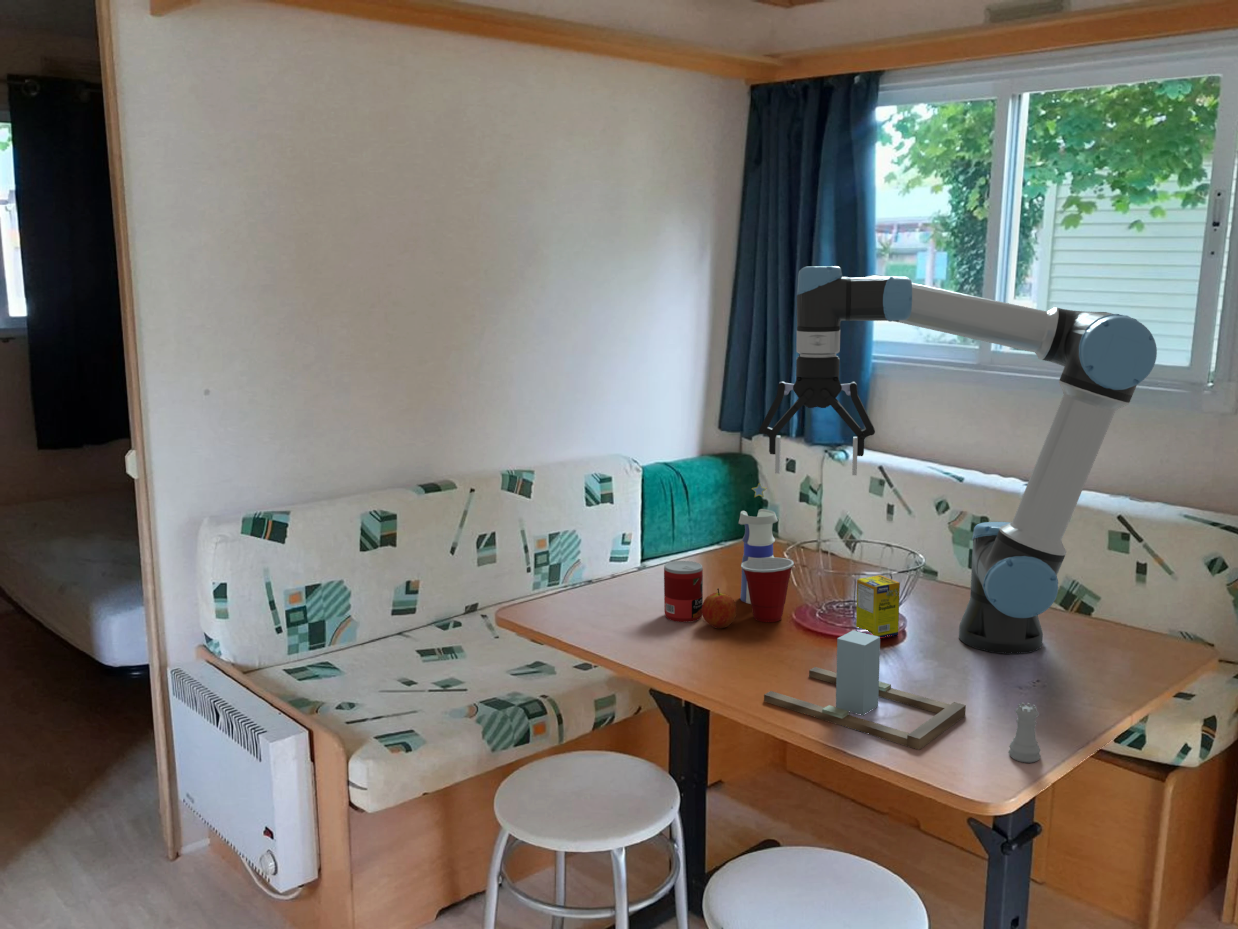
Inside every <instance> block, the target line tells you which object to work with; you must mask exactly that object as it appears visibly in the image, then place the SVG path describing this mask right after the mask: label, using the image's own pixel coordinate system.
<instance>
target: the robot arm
mask: <svg viewBox="0 0 1238 929" xmlns="http://www.w3.org/2000/svg"><path fill="white" fill-rule="evenodd" d="M797 275H798V276H797V288H796V290H797V291H796V326H797V327H796V353H798V354H799V355H798V356H797V357H796V358H795V360H796V361H795V362H796V363H795V364H796V365H795V366H796V367H795V382H794V383H789V382H785V381H783V380H781V381H779V383H778V385H777V393H776V396H775V398H774V400H773V402H772V404H771V406H770V408H769V410H768V412H767V414H766V415H765V418H764V419H763V422H762V423H761V424H760V426H759V429H758V431H759V433H760V434H763V435H766V436H767V437H768V438H769V439H768V441H769V443H768V448H769V449H768V452H769V454H770V455H775V458H774V459H775V461H774V462H775V464H774V466H775V468H774V471H775V472H774V473H775V474H776V475H777V474H780V472H781V454H782V452H781V449H782V448H781V446H782V445H781V444H782V440H781V439H782V437H781V435H778V434H779V432H780V431H781V430H782V429H783V428H784V427H785V426H786V424H788V422H789V421H790V420H791V419H792V418H793V417H794V415H796V414H797V412H798V411H799V410H800V409H801V408H802V407H803V406H804V407H806V408H807V409H814V408H820V409H826V408H828V407H830V406H831V408H832V409H833V410H834V411H835V412H836V413H837V414H838V415H839V417H840V418H841V419H842V420H843V421H844V423H845V424H846V425H847V426H848V428H849V429H850V430H851V431H852V432H853V433H854V435H855V436H853V438H852V472H851V474H852V476H857V475H858V469H857V468H858V457H863V456H864V454H865V440H866V438H867V437H869V436H874V435H875V433H876V429H875V427H874V425H873V423H872V421H871V419H870V417H869V414H868V413H867V410H866V408H865V406H864V404H863V402H862V400H861V398H860V396H859V394H858V384H857V383H856V381H851V382H850V383H848V382H847V383H841V381H840V363H841V362H840V361H841V360H840V357H839V356H838V355H837V354H839V353H840V352H841V351H840V349H841V322H842V321H846V322H851V321H859V322H860V321H862V322H863V321H866V322H871V321H872V322H876V321H877V322H878V321H879V322H880V321H881V322H882V321H884V322H885V321H886V322H895V323H900V324H904V325H908V326H913V327H918V328H923V329H926V330H932V331H937V332H940V333H945V334H950V335H955V336H957V337H958V336H959V337H963V338H967V339H972V340H976V341H980V342H981V341H982V342H984V343H990V344H995V345H999V346H1004V347H1008V348H1013V349H1017V350H1022V351H1027V352H1031V353H1034V354H1036V356H1037V358H1038V359H1039V360H1041V361H1045V362H1049V363H1053V364H1056V365H1059V366H1062V367H1064V368H1063V369H1062V372H1061V375H1060V377H1059V380H1058V383H1059V385H1060V387H1061V389H1062V392H1063V396H1062V398H1061V401H1060V403H1059V405H1058V408H1057V410H1056V413H1055V415H1054V418H1053V420H1052V422H1051V425H1050V427H1049V430H1048V433H1047V434H1046V437H1045V440H1044V443H1043V445H1042V447H1041V450H1040V452H1039V455H1038V457H1037V459H1036V463H1035V465H1034V467H1033V470H1032V472H1031V475H1030V477H1029V480H1028V481H1027V485H1026V487H1025V490H1024V492H1023V494H1022V497H1021V499H1020V502H1019V504H1018V507H1017V509H1016V512H1015V514H1014V516H1013V520H1012V521H1011V522H1010V521H1009V522H1008V521H1006V522H1005V521H989V522H988V521H986V522H980V523H978V524H976V525H975V526H974V528H973V533H972V537H971V541H972V554H971V574H970V576H971V577H970V595H969V600H968V602H967V603H968V604H967V606H966V608H965V611H964V613H963V615H962V618H961V620H960V623H959V628H958V638H959V640H960V641H961V642H962V643H963V644H966V645H967V646H969V647H970V648H971V647H972V648H974V649H978V650H981V651H985V652H991V653H995V654H996V653H997V654H1009V655H1010V654H1011V655H1013V654H1017V655H1019V654H1027V653H1031V652H1035V651H1037V650H1039V649H1041V647H1042V646H1043V638H1044V637H1043V635H1044V634H1043V630H1042V626H1041V622H1040V619H1039V615H1041V614H1043V613H1044V612H1046V611H1047V610H1049V608H1051V607H1052V606H1053V605H1054V603H1055V600H1057V597H1058V593H1059V578H1058V574H1059V571H1060V569H1061V566H1062V564H1063V562H1064V559H1065V557H1066V555H1067V550H1066V548H1065V546H1064V543H1063V541H1062V540H1063V538H1064V535H1065V532H1066V529H1067V528H1068V525H1069V522H1071V518H1072V515H1073V513H1074V512H1075V509H1076V506H1077V504H1078V501H1079V498H1080V497H1081V494H1082V492H1083V490H1084V487H1085V485H1086V482H1087V480H1088V477H1089V475H1090V473H1091V470H1092V468H1093V466H1094V463H1095V461H1096V458H1097V456H1098V454H1099V451H1100V449H1101V446H1102V444H1103V441H1104V439H1105V437H1106V434H1107V432H1108V430H1109V427H1110V426H1111V422H1112V420H1113V418H1114V416H1115V413H1116V411H1118V410H1119V409H1122V408H1124V407H1125V406H1129V404H1130V402H1131V400H1132V398H1133V395H1134V393H1135V390H1136V388H1137V386H1138V385H1139V384H1140V383H1142V382H1144V380H1145V379H1146V378H1147V377H1148V376H1149V375H1150V374H1151V372H1152V370H1153V368H1154V366H1155V364H1156V361H1157V356H1158V352H1157V351H1158V349H1157V344H1156V340H1155V338H1154V336H1153V334H1152V332H1151V331H1150V330H1149V328H1148V327H1147V326H1146V325H1144V324H1143V323H1142V322H1140V321H1139V320H1137V319H1136V318H1134V317H1131V316H1129V315H1125V314H1124V315H1123V314H1119V313H1112V312H1107V311H1085V310H1084V311H1082V310H1081V311H1080V310H1072V309H1065V308H1060V307H1056V306H1055V307H1052V308H1051V309H1049V310H1042V309H1037V308H1033V307H1028V306H1024V305H1019V304H1015V303H1014V304H1013V303H1011V302H1010V303H1009V302H1005V301H1000V300H995V299H990V298H986V297H981V296H976V295H971V294H966V293H961V292H958V291H957V292H956V291H952V290H949V289H948V290H947V289H944V288H938V287H933V286H929V285H924V284H919V283H914V282H913V281H912V280H911V278H909V277H908V276H896V275H890V276H885V275H884V276H883V275H880V274H869V275H867V276H865V277H864V276H863V277H862V276H861V277H851V276H850V277H848V276H843V272H842V268H841V267H840V266H838V265H834V266H833V265H831V266H828V265H827V266H826V265H825V266H824V265H822V266H819V265H818V266H803V267H802V268H801V269H800V270H799V271H798V274H797ZM790 391H793V392H794V394H795V395H796V396H797V399H796V401H795V402H793V404H792V405H791V406H790V408H789V409H788V410H787V411H786V412H785V413H784V414H783V416H781V418H780V419H779V420H778V421H777V422H776V423H775V424H774V426H773V427H769V426H770V424H771V422H772V420H773V418H774V416H775V414H776V413H777V411H778V409H779V407H780V405H781V403H782V401H783V399H784V396H787V395H789V393H790ZM842 391H844V392H845V394H846V396H850V398H851V401H852V403H853V406H854V407H855V409H856V412H857V413H858V416H859V417H860V420H861V421H862V423H863V426H864V429H862V428H861V427H860V426H859V424H858V423H857V421H855V419H854V418H853V417H852V416H851V415H850V413H849V412H848V410H846V409H845V407H844V406H843V405H842V404H841V403H840V401H839V400H838V399H837V397H838V396H839V395H840V393H841V392H842Z"/></svg>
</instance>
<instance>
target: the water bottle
mask: <svg viewBox="0 0 1238 929" xmlns="http://www.w3.org/2000/svg"><path fill="white" fill-rule="evenodd" d="M767 489H768V488H767V487H762V485H761V483H760V482H759V483H758V484H757V486H756V487H752V488H751V490H753V491H754V492H755V493H754V497H753V498H756V497H758V496H760V497H762V498H764V497H765V496H764V491H766V490H767ZM778 521H779V519H778V517H777V515H776V512H775V511H774V510H770V509H765V508H760V509H758V512H757V516H752V515H751V516H750V515H748V512H747V511H745V510H741V511H740V513H739V520H738V525H741V526H743V525H744V529H745V530H744V535H743V537H742V540H741V541H742V542H743V555H742V559H741V563H743V562H745V561H748V560H751V559H757V558H769V557H774V558H775V556H774V543H775V541H776V538H775V537H774V535H773V524H775V523H777V522H778ZM740 580H741V586H740V596H739V597H740V601H741V602H743V603H746V604H748V605H749V604H750V605H751V601H750V596H749V590H748V584H747V579H746V575H745V573H744V570H743V569H742V568H741V579H740Z"/></svg>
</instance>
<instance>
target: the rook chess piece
mask: <svg viewBox="0 0 1238 929" xmlns="http://www.w3.org/2000/svg"><path fill="white" fill-rule="evenodd" d="M1025 704H1026V703H1025V702H1020V703H1018V705H1017V708H1016V709H1015V710H1014V711H1015V713H1016V715H1017V719H1015V721H1016V724H1017V727H1016V732H1015V736H1014V737H1013V738H1012V741H1010V744H1009V746H1008V747H1009V750H1008V755H1009V756H1010V757H1011V758H1012V759H1013V760H1014V761H1017V762H1020V763H1023V764H1024V763H1025V764H1033V763H1036V762H1038V760H1040V759H1041V754H1040V752H1041V751H1042V750H1041V746H1040V745H1039V743H1038V740H1037V738H1036V725H1037V724H1038V723H1037V721H1036V718H1037V717H1038V716H1039V715H1040V713H1039V712H1038V710H1037V709H1038V708H1037V706H1036V705H1035V704H1032V703H1029V702H1027V704H1026V705H1025Z"/></svg>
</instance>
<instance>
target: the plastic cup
mask: <svg viewBox="0 0 1238 929" xmlns="http://www.w3.org/2000/svg"><path fill="white" fill-rule="evenodd" d="M794 564H795V563H794V560H792V559H789V558H783V557H775V556H774V557H769V558H757V559H751V560H748V561H745V562H743V563H742V562H741V563H740V567H741V570H742V569H743V570H744V573H745V575H746V579H747V584H748V590H749V596H750V601H751V604H750V605H751V610H752V611H751V612H752V616H753V618H754V620H756V621H759V622H762V623H775V622H779V621H780V620H782V618H783V616H784V609H785V608H784V607H785V605H786V601H787V600H786V599H787V595H788V594H787V593H788V588H789V582H790V578H791V573H792V569H793V567H794Z"/></svg>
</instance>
